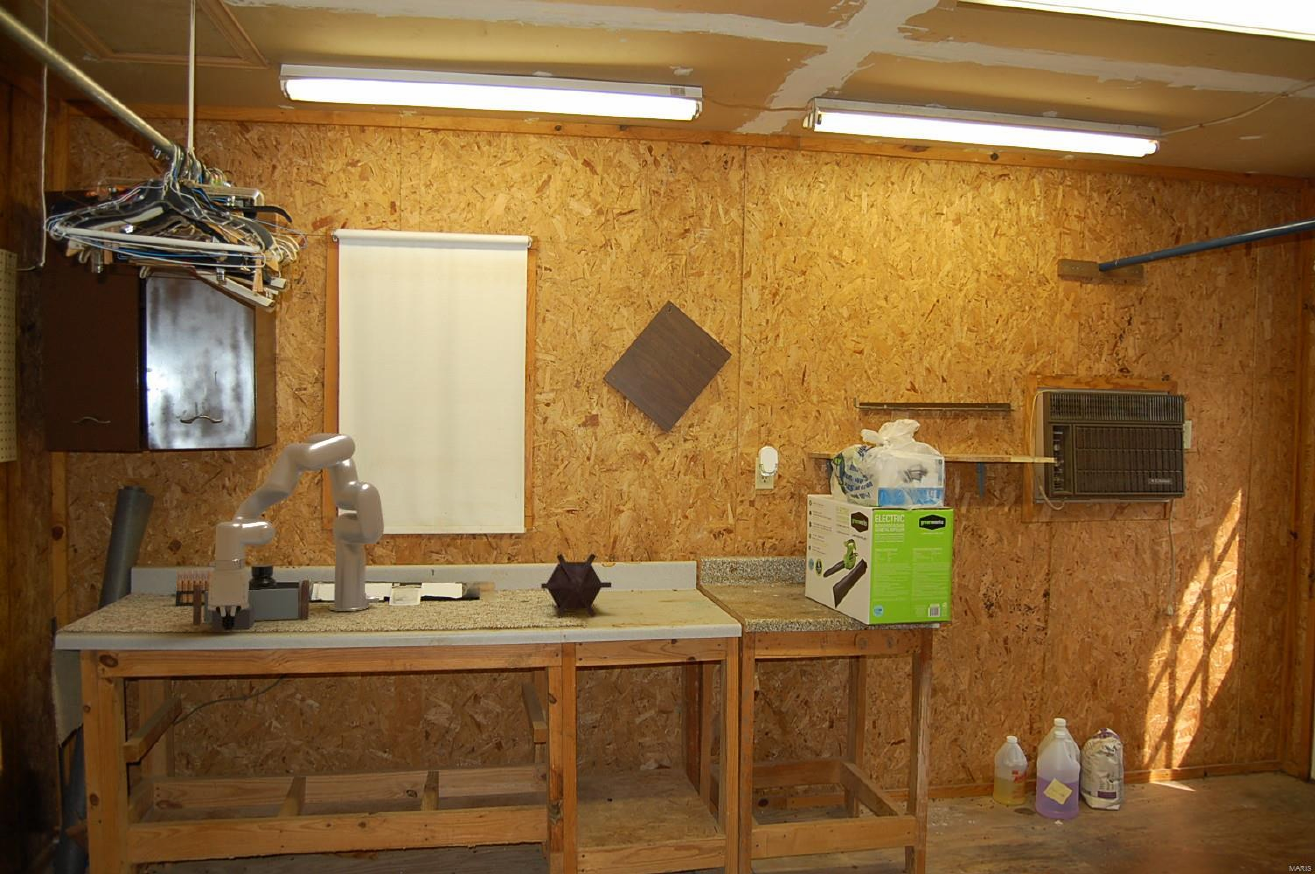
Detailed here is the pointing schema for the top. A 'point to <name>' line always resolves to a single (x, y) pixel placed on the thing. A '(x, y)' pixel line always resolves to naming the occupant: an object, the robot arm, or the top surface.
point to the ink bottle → (262, 576)
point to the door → (267, 604)
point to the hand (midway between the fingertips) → (228, 629)
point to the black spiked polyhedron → (574, 585)
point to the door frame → (302, 612)
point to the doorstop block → (242, 619)
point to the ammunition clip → (190, 587)
